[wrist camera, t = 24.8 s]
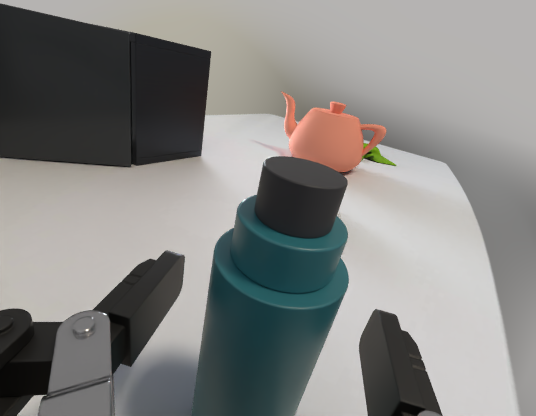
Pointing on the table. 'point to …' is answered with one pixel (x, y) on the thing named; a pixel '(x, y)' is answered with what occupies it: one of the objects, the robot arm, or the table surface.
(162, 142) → the small dark safe
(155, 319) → the robot arm
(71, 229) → the table surface
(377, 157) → the cloth
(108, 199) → the table surface
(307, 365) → the water bottle
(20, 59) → the door
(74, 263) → the table surface
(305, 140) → the teapot
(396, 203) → the table surface
